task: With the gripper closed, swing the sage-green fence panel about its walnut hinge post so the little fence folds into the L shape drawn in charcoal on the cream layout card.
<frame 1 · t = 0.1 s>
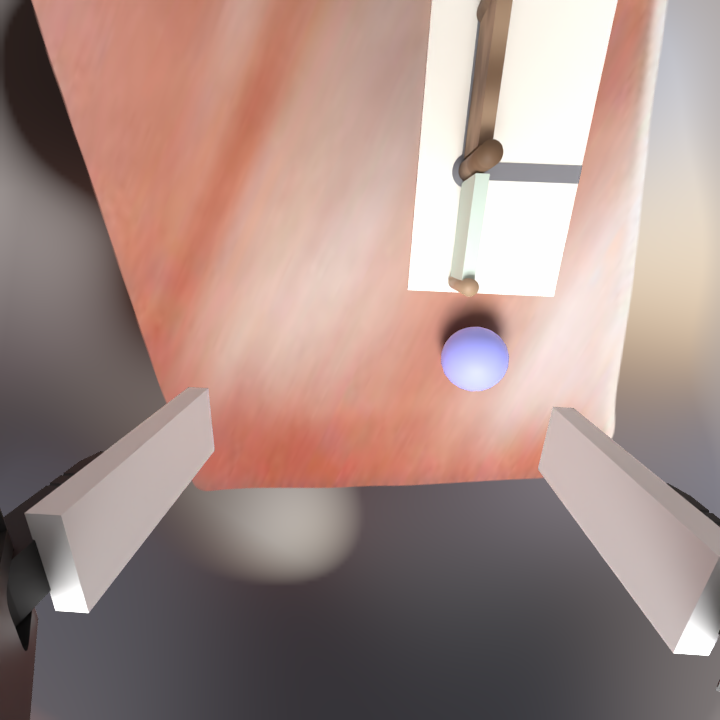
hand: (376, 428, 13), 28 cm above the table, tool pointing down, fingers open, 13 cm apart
layout card: (498, 161, 35), on the table
folding fence panel: (468, 237, 33), point 4 cm above the table, hinge at 0.0°
fixed fence section: (468, 170, 35), resting on layout card
sphere: (465, 349, 41), on the table
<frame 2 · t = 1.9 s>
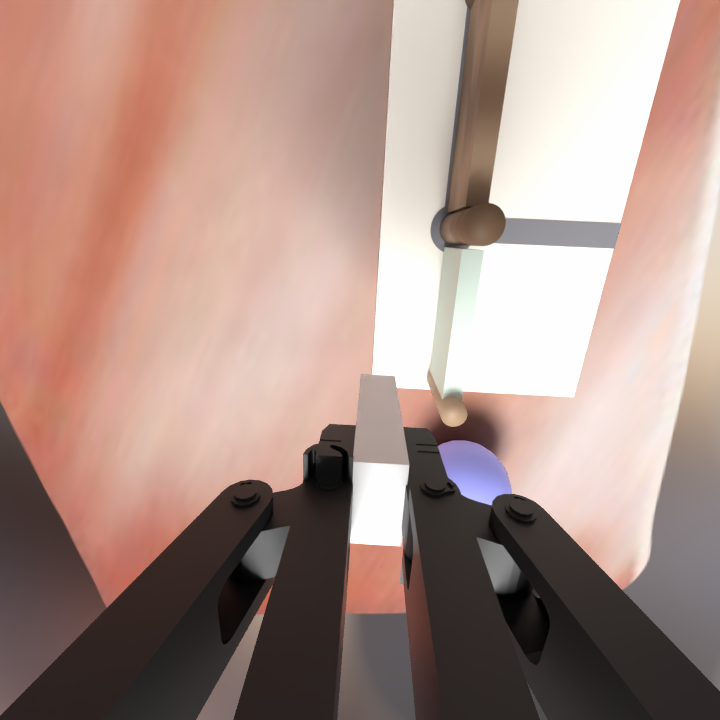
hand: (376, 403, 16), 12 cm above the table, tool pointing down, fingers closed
layout card: (498, 215, 24), on the table
folding fence panel: (452, 332, 23), point 4 cm above the table, hinge at 0.0°
fixed fence section: (453, 229, 24), resting on layout card
sphere: (452, 457, 30), on the table
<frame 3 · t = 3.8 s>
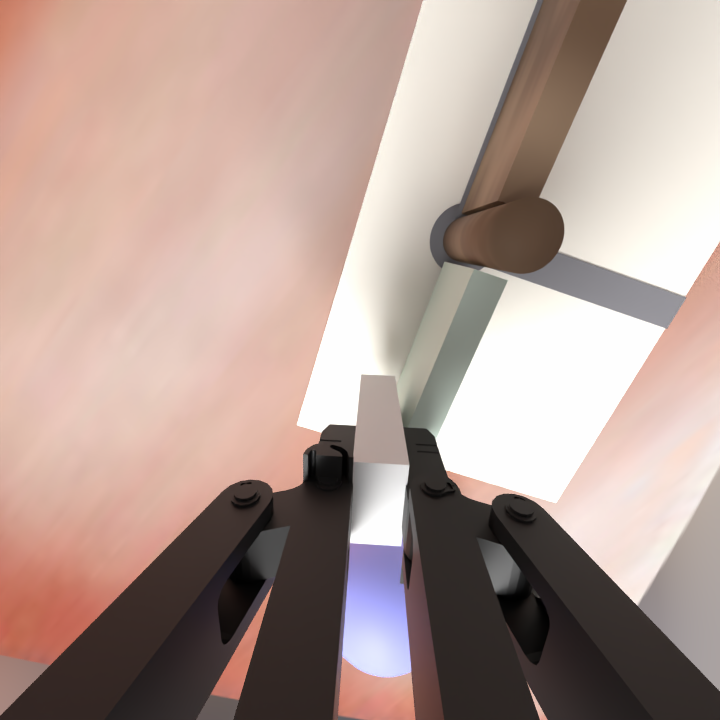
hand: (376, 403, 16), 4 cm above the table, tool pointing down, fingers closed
layout card: (529, 239, 16), on the table
folding fence panel: (424, 389, 15), point 4 cm above the table, hinge at 0.0°, touching gripper
fixed fence section: (464, 239, 16), resting on layout card
sphere: (382, 538, 23), on the table
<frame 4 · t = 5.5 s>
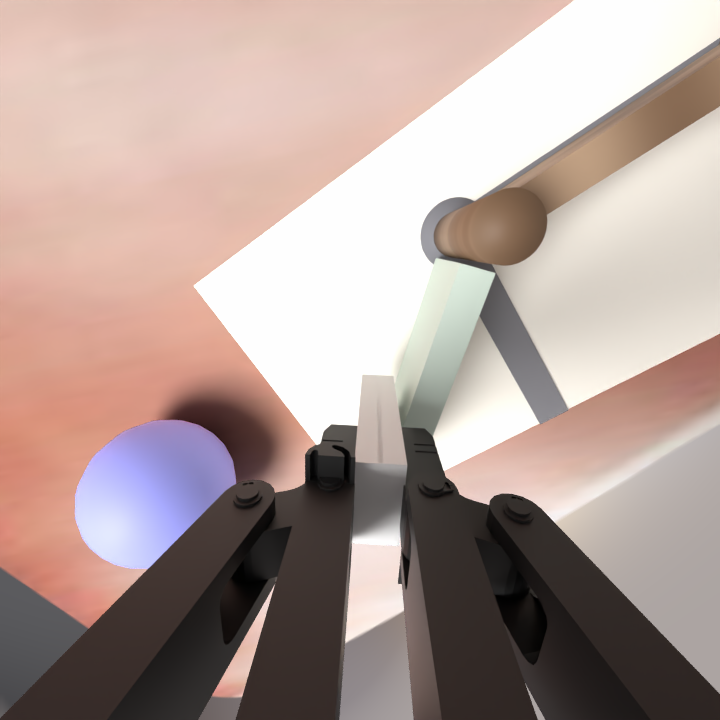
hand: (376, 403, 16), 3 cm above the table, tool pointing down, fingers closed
layout card: (501, 277, 17), on the table
folding fence panel: (420, 386, 15), point 4 cm above the table, hinge at 41.8°, touching gripper
fixed fence section: (455, 235, 16), resting on layout card
sphere: (198, 448, 21), on the table
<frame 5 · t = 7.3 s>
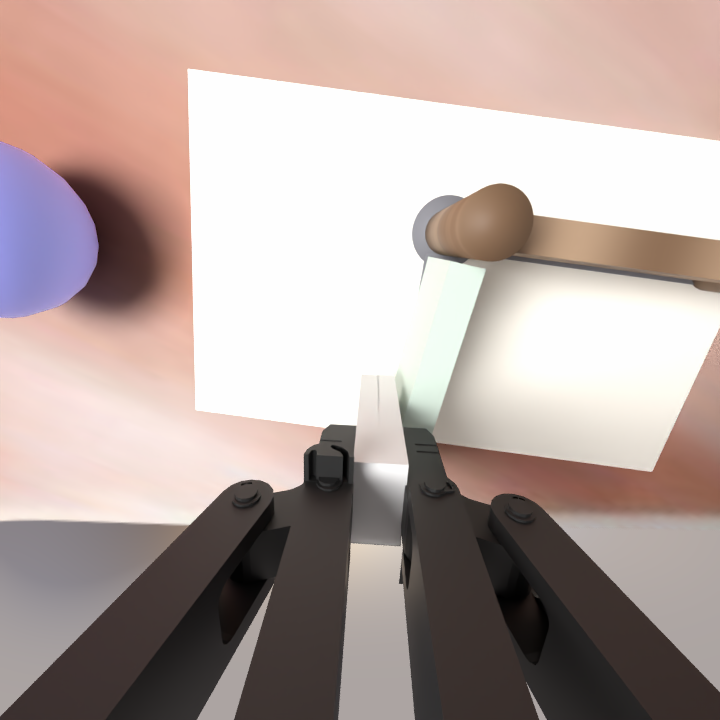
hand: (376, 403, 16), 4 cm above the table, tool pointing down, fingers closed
layout card: (452, 298, 17), on the table
folding fence panel: (418, 385, 15), point 4 cm above the table, hinge at 84.8°, touching gripper
fixed fence section: (446, 232, 16), resting on layout card
sphere: (67, 234, 18), on the table
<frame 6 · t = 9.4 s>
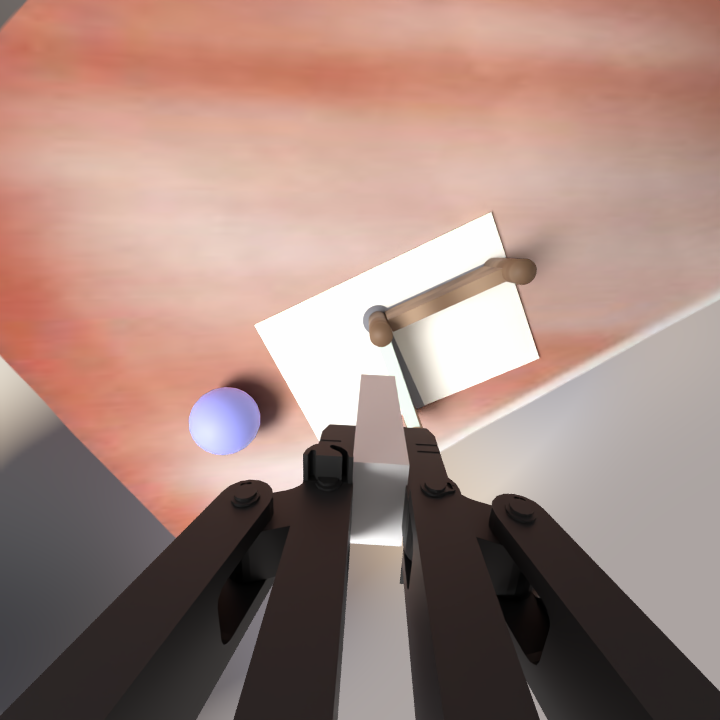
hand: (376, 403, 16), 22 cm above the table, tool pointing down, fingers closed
layout card: (397, 340, 37), on the table
folding fence panel: (400, 386, 35), point 4 cm above the table, hinge at 84.9°
fixed fence section: (378, 320, 36), resting on layout card
sphere: (238, 405, 40), on the table
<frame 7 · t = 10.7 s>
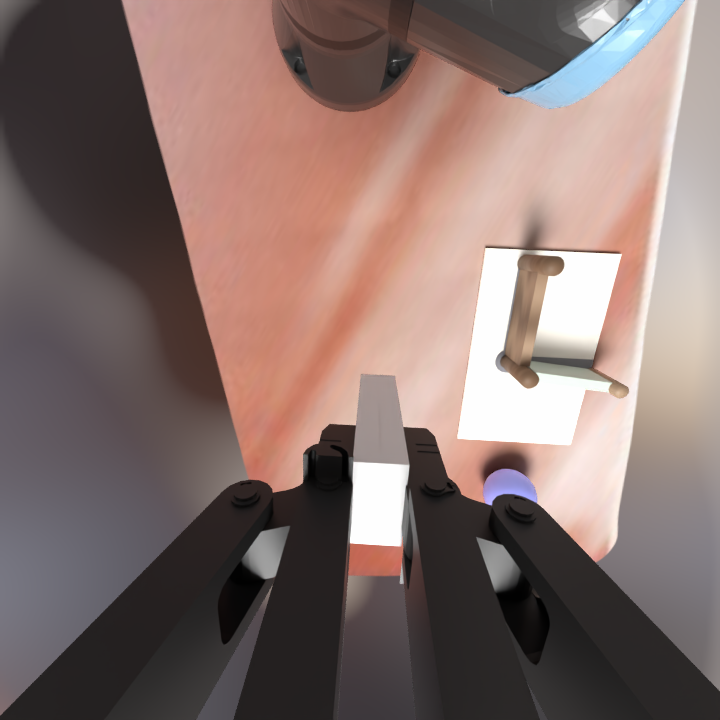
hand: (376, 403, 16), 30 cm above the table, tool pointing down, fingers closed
layout card: (530, 354, 46), on the table
folding fence panel: (569, 377, 43), point 4 cm above the table, hinge at 84.9°
fixed fence section: (507, 361, 46), resting on layout card
sphere: (500, 478, 52), on the table
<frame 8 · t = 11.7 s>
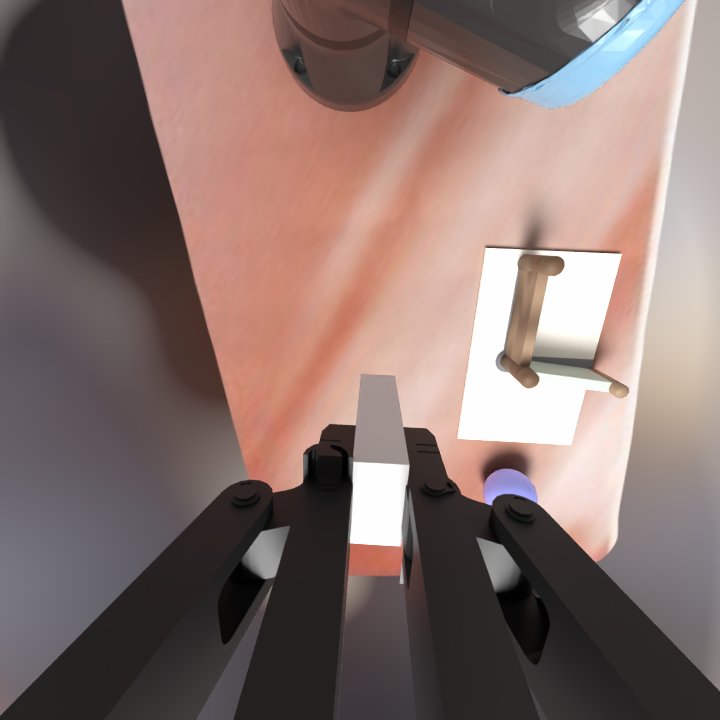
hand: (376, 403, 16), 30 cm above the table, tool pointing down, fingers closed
layout card: (530, 354, 46), on the table
folding fence panel: (569, 377, 43), point 4 cm above the table, hinge at 84.9°
fixed fence section: (507, 360, 46), resting on layout card
sphere: (500, 477, 52), on the table
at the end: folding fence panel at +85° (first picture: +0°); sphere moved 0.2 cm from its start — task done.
